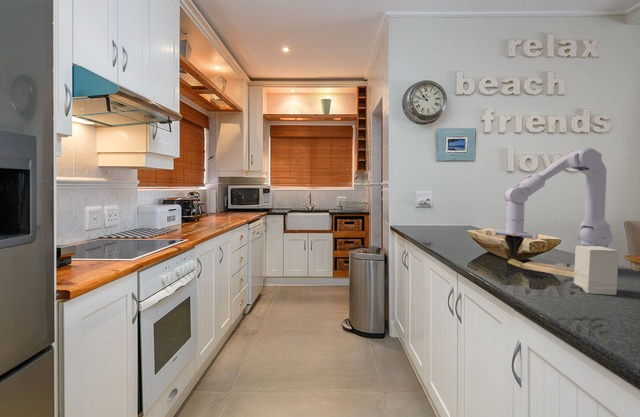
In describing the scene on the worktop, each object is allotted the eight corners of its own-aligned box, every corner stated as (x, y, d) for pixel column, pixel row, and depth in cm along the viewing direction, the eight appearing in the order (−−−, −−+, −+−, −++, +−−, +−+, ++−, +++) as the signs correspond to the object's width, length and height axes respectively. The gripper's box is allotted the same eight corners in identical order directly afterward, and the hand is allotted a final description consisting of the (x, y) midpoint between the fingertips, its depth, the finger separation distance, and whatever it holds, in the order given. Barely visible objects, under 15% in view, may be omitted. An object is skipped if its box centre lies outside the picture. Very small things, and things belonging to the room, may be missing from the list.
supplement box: (617, 295, 91) (620, 250, 90) (587, 293, 92) (589, 249, 92) (600, 287, 98) (602, 245, 97) (572, 286, 100) (574, 245, 99)
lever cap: (558, 265, 114) (558, 261, 114) (579, 269, 109) (580, 264, 109) (553, 267, 111) (554, 263, 111) (575, 271, 106) (576, 266, 106)
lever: (525, 266, 121) (511, 260, 125) (526, 264, 121) (512, 258, 125) (521, 268, 119) (507, 262, 122) (522, 265, 119) (508, 260, 122)
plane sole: (526, 267, 123) (526, 260, 122) (583, 277, 109) (584, 269, 109) (519, 270, 118) (519, 263, 118) (578, 280, 105) (578, 273, 105)
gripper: (490, 219, 125) (489, 254, 126) (533, 222, 114) (531, 260, 114) (497, 218, 129) (496, 251, 130) (540, 220, 118) (538, 257, 119)
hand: (513, 255), depth 123 cm, fingers closed
